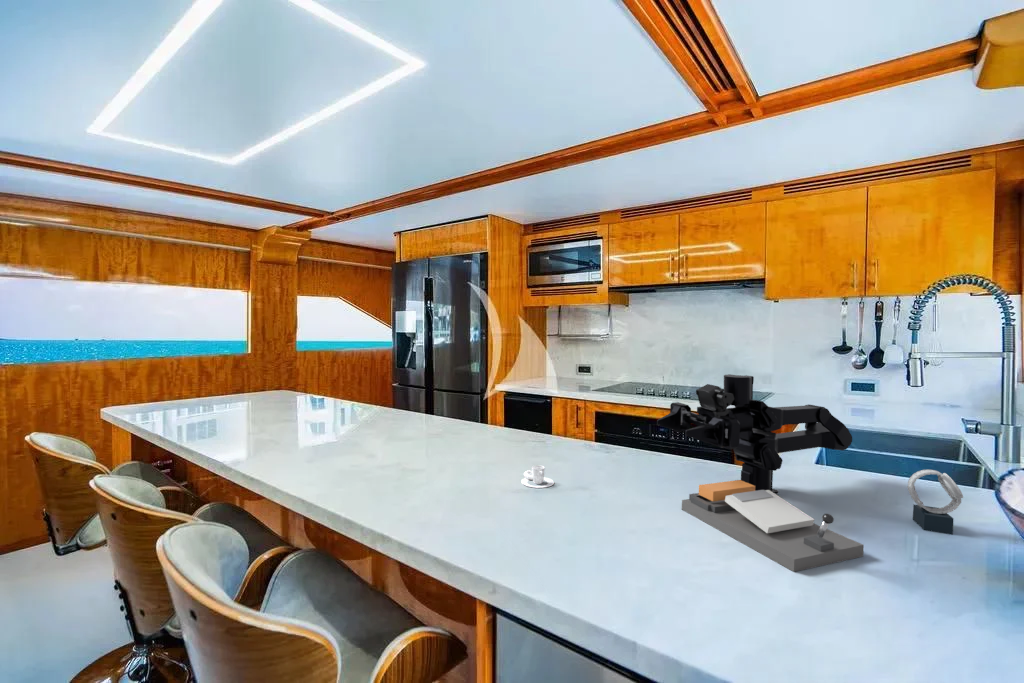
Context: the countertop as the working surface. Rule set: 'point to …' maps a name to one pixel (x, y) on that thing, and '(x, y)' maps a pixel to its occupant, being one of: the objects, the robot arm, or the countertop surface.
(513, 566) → the countertop surface
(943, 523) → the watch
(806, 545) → the panel
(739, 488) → the push button
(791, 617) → the countertop surface
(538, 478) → the teacup and saucer
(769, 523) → the rocker switch
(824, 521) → the toggle lever
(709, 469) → the countertop surface
